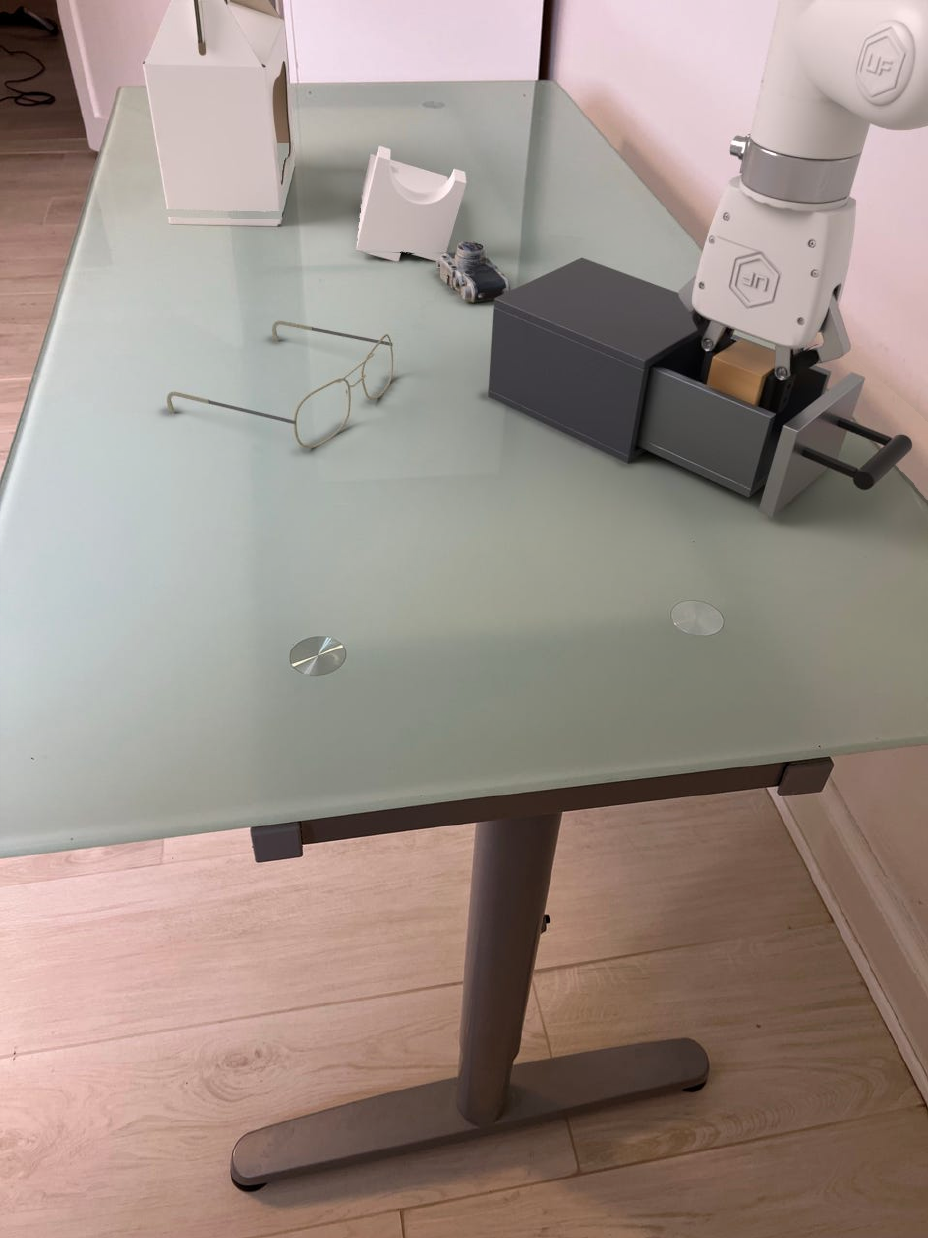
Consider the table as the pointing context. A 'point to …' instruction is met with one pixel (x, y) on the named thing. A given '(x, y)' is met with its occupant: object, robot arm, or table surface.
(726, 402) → the pull-out drawer
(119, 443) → the table surface
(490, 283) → the camera
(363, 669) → the table surface
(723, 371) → the block
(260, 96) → the gable box
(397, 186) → the white notched cradle
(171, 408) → the eyeglasses
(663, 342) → the cabinet
